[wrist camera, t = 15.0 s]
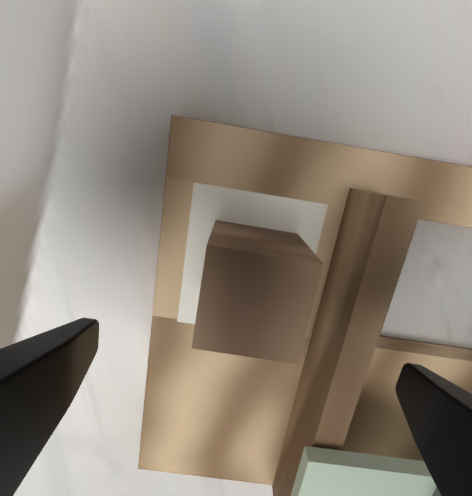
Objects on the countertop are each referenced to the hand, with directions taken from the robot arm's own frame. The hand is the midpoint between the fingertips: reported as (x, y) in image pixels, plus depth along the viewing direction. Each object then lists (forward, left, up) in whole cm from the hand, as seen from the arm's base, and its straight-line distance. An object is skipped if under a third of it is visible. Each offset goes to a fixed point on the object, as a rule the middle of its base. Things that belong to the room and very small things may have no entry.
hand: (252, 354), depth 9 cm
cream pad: (0, 0, -8) cm, 8 cm away
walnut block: (0, 0, -8) cm, 8 cm away
